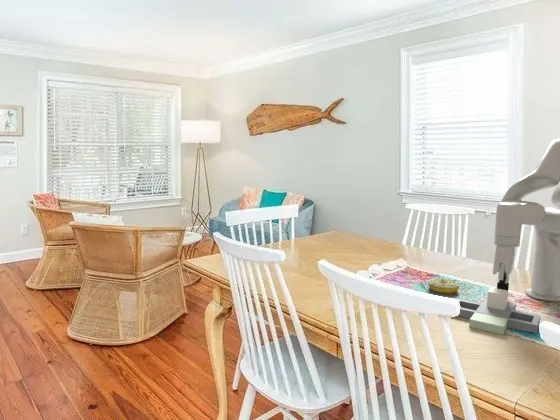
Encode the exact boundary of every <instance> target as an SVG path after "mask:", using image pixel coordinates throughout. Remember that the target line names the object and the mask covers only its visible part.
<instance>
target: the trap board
mask: <svg viewBox="0 0 560 420" xmlns="http://www.w3.org/2000/svg"><path fill="white" fill-rule="evenodd" d="M487 297H488V296H486V297H485V298H484V300H483V301H482V302H481V303H479V302H475V301H470V300H465V299H460V298H456V299H457V300H459V303H460V306H461V307H460V314H459V316H458V317H461V318H464V319H469V323H468V326H469V328H473V329H477V330H481V331H486V332H488V333H489V332H490V333H493V334H498V335H502V336H503V335H504V334H505V332H506V329H507V328H509V329H514V330H518V331H522V332H526V331H527V333H530V332H534V333H533V334H535V333H536V332H537V333H538V329H539V327H538V325H539V326H540V324H541V315H538V314H533V313H529V312H525V311H519V310H517V302H512V301H508V300H507V307H506V308H505V310H500V309H495V308H490V307H487ZM539 323H540V324H539ZM537 333H536V334H537Z"/></svg>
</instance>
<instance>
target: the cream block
mask: <svg viewBox="0 0 560 420" xmlns="http://www.w3.org/2000/svg"><path fill="white" fill-rule="evenodd" d="M486 297H487V307H490V308H495V309H500V310H505V308H506V307H507V301H508V300H509V299H508V297H509V289H508V290H502V289H497V287H496V288H495V287H490V288H489V290H488V291H487V296H486Z"/></svg>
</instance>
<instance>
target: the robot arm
mask: <svg viewBox="0 0 560 420" xmlns="http://www.w3.org/2000/svg"><path fill="white" fill-rule="evenodd" d="M553 187H555V188H554V190H553V192H552V195H551V204H552V205H554V207H556V208H554V207H545V206H544V205H542V204H541V203H538V202H535V201H527V200H523V199H524V198H525V197H527V196H529V195H530V194H533V193H536V192H540V191H544V190H546V189H550V188H553ZM495 213H496V215H495V225H494V236H493V244H494V245H495V246H496V247H495V251H494V260H493V267H492V268H493V269H492V274H493V275H497V283H496V285H497V286H496V289H502V290H508V291H509V288H510V283H509V281H510V275H511V274H512V272H513V271H514V266H515V257H516V256H515V255H516V248H519V247H520V246H521V234H522V225H528V226H533V229H534V234H535V235H534V251H533V261H532V262H533V263H532V272H531V283H530V287H528V288H526V289H525V294H526V295H527V296H529V297H531V298H533V299H536V300H540V301H546V302H557V303H558V302H559V303H560V138H556V139H554V140H552V141H551V142H550V144H548V146H547V148H546V150H545V151H544V153H543V154H542V156H541V158H540V160H539V161H538V163H537V165H536V166H535V168H534V170H532V172H531V173H529V174H527V175H525V176H524V177H522V178H521V179H519V180H517V181H516V182H515V183H513V184H512V185H511V186H510V187H509V188H508V189H507V191H506V192H505V194H504V196H503V197H502V198H501V200H500V203H498V204H497V206H496V212H495Z"/></svg>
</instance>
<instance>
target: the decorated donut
mask: <svg viewBox="0 0 560 420" xmlns="http://www.w3.org/2000/svg"><path fill="white" fill-rule="evenodd" d="M428 288H429V290H431V291H432V292H434V293H436V294H440V295H453V294H455V293H457V292H458V291H459V289H460V285H459V284H458V282H456V281H454V280H452V279H447V278H441V277H440V278H434V279H430V280H429V281H428Z"/></svg>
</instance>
